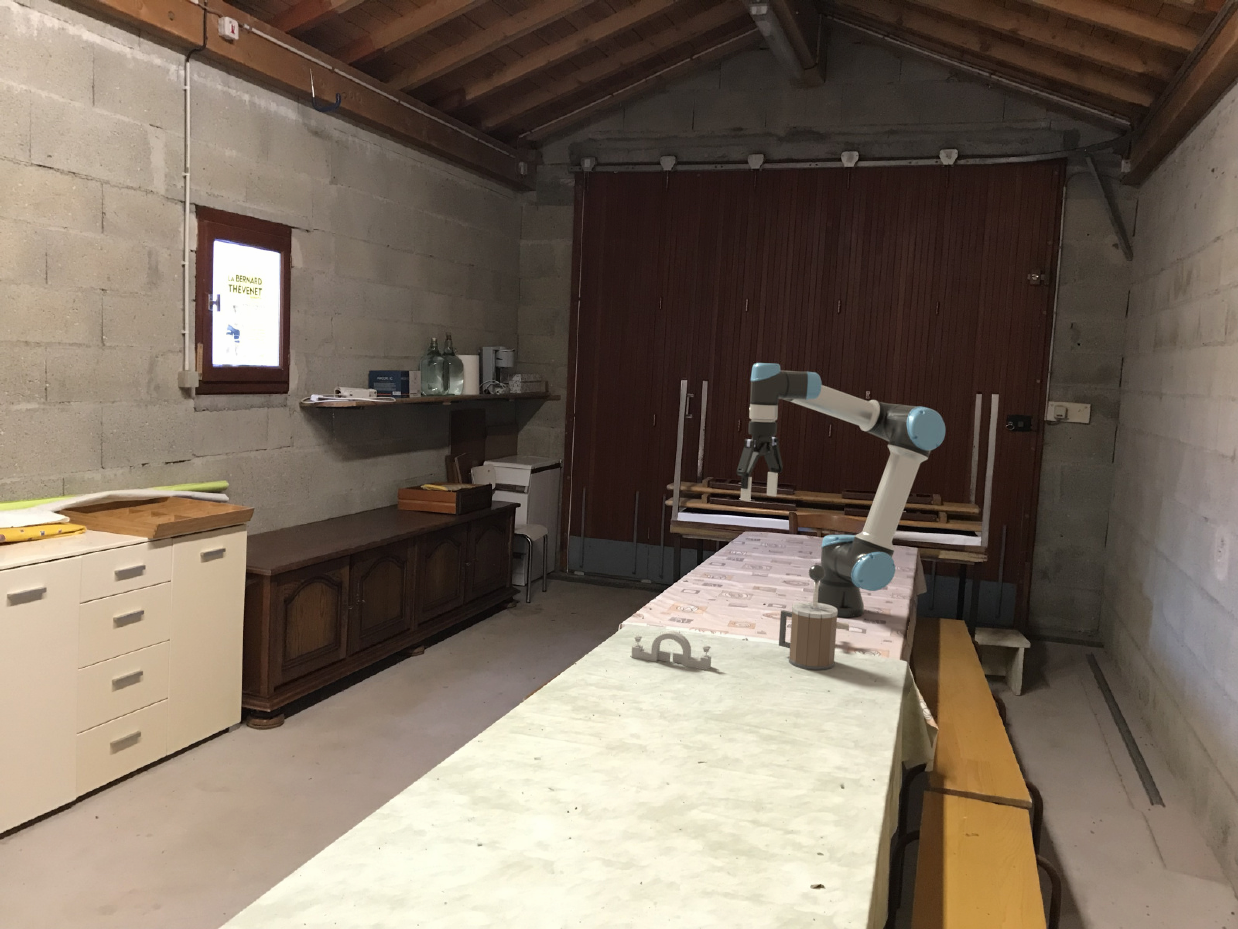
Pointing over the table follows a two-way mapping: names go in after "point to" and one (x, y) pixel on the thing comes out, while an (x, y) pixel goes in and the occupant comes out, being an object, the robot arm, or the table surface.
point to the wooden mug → (810, 635)
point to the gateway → (679, 658)
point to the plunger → (816, 581)
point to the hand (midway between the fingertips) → (758, 498)
